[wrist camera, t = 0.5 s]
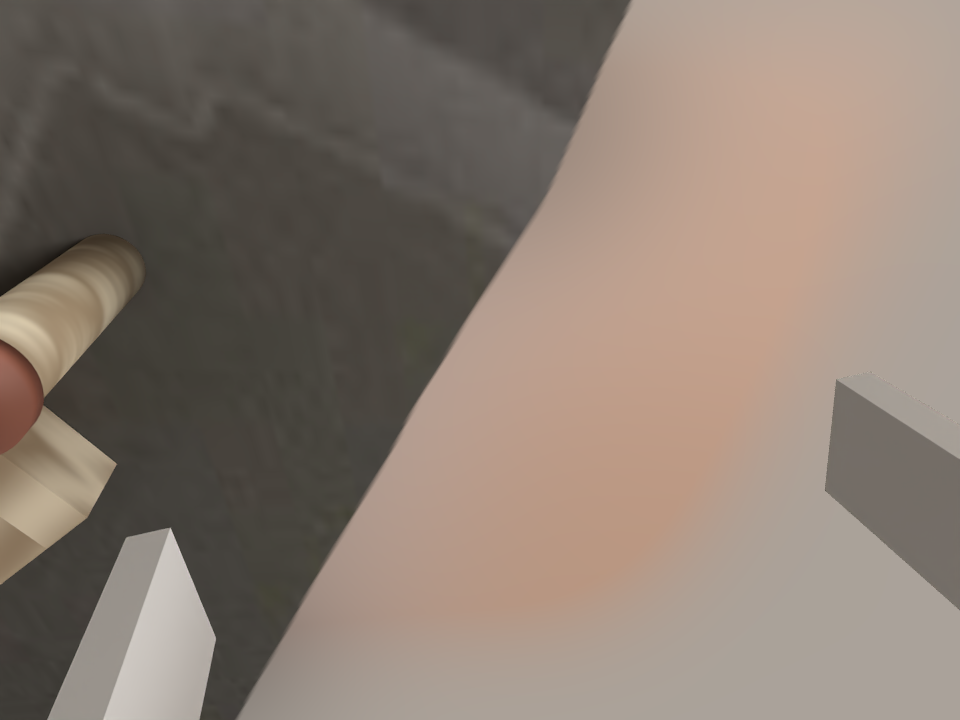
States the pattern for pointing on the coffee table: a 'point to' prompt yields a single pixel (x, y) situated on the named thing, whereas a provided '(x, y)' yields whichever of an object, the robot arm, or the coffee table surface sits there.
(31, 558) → the block
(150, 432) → the coffee table surface
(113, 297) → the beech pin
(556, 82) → the coffee table surface
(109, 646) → the robot arm
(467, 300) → the coffee table surface
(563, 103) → the coffee table surface
